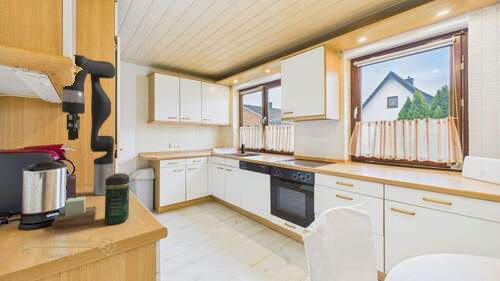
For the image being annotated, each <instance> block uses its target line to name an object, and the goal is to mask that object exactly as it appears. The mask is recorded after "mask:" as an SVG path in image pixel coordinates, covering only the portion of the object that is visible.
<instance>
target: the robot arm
mask: <svg viewBox="0 0 500 281" xmlns="http://www.w3.org/2000/svg"><path fill="white" fill-rule="evenodd" d="M73 55H74V56H75V64H76V66H78V67H81V68H82V69H83V70H81V71H79V72H78V73H77V74H76V76H75V81H74V83H73V85H71V86H65V87H63V86H62V92H61V112H62V113H67V114H66V127H65V129H66V130H67V131H68V132H67V140H68V141H75V140H78V139H79V131H80V128H81V127H80V126H81V124H80V123H81V118H80V116H79V115H80V114H85V112H86V109H85V108H86V105H85V104H86V99H85V98H86V96H85V81H86V79H87V75H90V85H91V98H90V99H91V102H90V110H91V111H90V112H91V113H90V114H91V117H90V118H91V128H90V130H91V131H90V142H89V143H90V150H91V152H93V153H105V154H104V155H102V156H100V157H97V158H94V159H93V195H94V196H105V180H106V178H108V177H109V176H112V175H114V148H115V139H114V137H113V136H111V135H99V132H100V129H101V127H102V126H103V124H105V122H106V121H107V120H108V118H109V117H110V116H111V114H112V100H111V99H110V97H109V96H108V94H107V93H106V91H105V90H104V89H103V87H102V84H101V79H109V80H110V79H113V78H114V77H115V75H116V67H115V65H114V63H111V62H110V61H105V60H103V61H102V60H94V59H91V58H87V57H86V56H85V55H81V54H73Z"/></svg>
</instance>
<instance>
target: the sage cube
mask: <svg viewBox="0 0 500 281" xmlns="http://www.w3.org/2000/svg"><path fill="white" fill-rule="evenodd" d="M86 201H87V199H86V196H79V197H78V196H77V197H76V198H68V199H67V201H66V202H65V217H67V216H74V215H81V214H84V213H85V210H86V208H87V207H86V205H87V204H86Z"/></svg>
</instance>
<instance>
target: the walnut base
mask: <svg viewBox="0 0 500 281" xmlns="http://www.w3.org/2000/svg"><path fill="white" fill-rule="evenodd" d="M97 212H98V211H97V207H96V206H89V207H88V206H87V207H86V210H85V213H84V214H81V215H74V216H67V217H65V211H64V212H63V213H61V214H59V213H58V214H59V215H58V214H57V216H56V217H55V219H54V220H53V222H52V223H51V230H52V229H55V230H60V229H59V228H61V229H66V228H65V227H67V228H73V227H79V226H84V225H90V224H95V221H96V217H97Z"/></svg>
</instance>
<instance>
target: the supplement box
mask: <svg viewBox="0 0 500 281" xmlns="http://www.w3.org/2000/svg"><path fill="white" fill-rule="evenodd" d="M66 174H67V185H66V190H67V199H68V198H74V197H75V198H77V197H76V196H77V193H76V192H77V184H76V183H77V181H76V180H77V175H76V173H75V174H73V173H66ZM66 201H67V200H66Z"/></svg>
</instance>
